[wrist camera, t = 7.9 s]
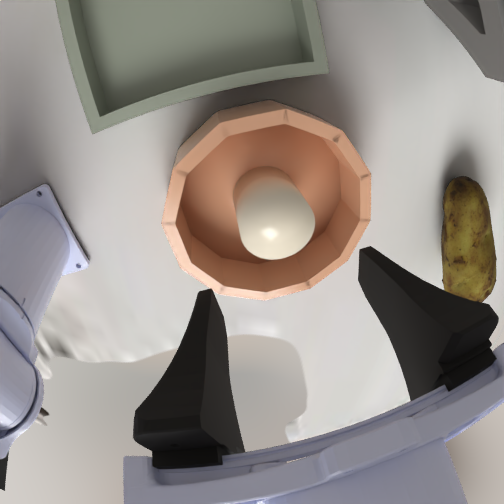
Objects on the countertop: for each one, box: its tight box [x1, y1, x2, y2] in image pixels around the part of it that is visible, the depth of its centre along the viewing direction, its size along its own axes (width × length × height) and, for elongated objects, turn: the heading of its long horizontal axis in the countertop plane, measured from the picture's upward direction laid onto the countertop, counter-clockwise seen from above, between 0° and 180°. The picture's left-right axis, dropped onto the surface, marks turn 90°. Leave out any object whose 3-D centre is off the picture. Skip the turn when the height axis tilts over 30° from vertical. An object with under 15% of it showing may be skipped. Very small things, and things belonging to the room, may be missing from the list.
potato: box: [441, 176, 497, 303], centre depth 23 cm, size 8×13×8 cm, turn 0°
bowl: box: [161, 100, 371, 300], centre depth 19 cm, size 13×13×4 cm
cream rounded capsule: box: [233, 166, 315, 260], centre depth 19 cm, size 4×4×4 cm
